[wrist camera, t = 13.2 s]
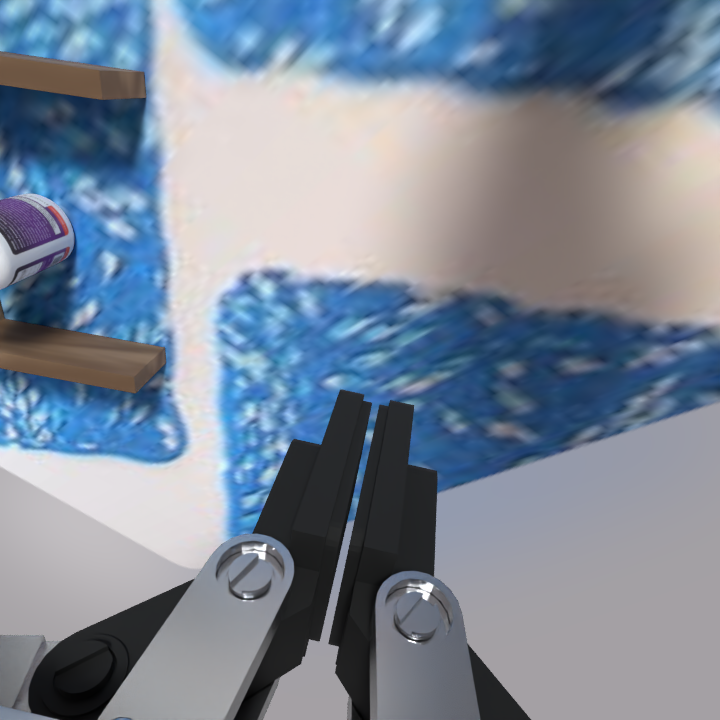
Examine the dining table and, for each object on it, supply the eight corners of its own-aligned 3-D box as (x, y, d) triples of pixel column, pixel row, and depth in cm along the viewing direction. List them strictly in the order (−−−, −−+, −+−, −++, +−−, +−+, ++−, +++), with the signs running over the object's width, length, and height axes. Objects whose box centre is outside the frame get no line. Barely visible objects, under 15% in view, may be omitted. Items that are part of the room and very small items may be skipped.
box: (-84, 39, 34) (-161, 32, 30) (144, 72, 33) (99, 70, 29) (-8, 331, 45) (-56, 357, 41) (166, 362, 44) (135, 393, 40)
